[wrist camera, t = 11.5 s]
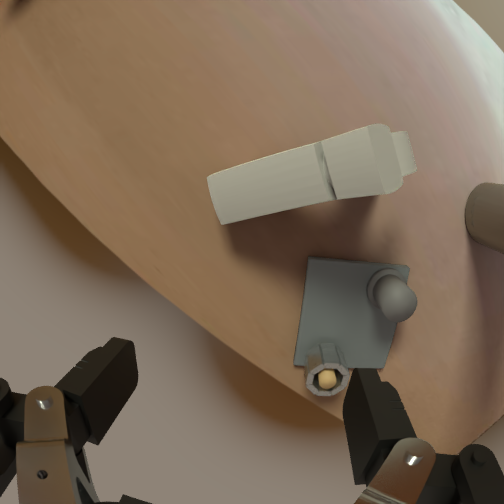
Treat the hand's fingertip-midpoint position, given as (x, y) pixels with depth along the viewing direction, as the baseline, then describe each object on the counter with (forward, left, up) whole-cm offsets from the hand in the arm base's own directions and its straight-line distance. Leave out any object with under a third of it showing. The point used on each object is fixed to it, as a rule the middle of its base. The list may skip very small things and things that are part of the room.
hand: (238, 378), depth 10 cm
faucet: (-3, -7, -30) cm, 31 cm away
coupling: (-9, +17, -28) cm, 34 cm away
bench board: (-12, +11, -30) cm, 34 cm away
